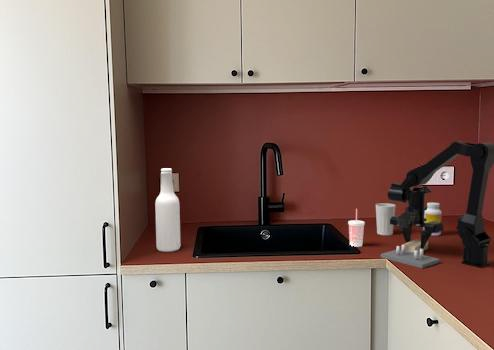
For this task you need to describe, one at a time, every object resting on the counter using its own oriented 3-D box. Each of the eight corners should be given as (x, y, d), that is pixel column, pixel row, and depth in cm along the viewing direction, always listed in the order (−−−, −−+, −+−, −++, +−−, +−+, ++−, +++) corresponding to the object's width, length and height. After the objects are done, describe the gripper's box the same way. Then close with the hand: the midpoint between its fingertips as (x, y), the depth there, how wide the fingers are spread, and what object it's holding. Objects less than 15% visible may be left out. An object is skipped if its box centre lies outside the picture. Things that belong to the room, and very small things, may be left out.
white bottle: (154, 252, 177) (151, 170, 174) (159, 245, 186) (156, 167, 182) (178, 252, 177) (176, 169, 174) (182, 245, 186) (180, 167, 182)
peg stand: (439, 262, 162) (439, 250, 161) (421, 268, 156) (422, 255, 155) (398, 252, 174) (398, 240, 174) (380, 257, 168) (381, 245, 168)
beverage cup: (367, 245, 184) (368, 209, 182) (355, 248, 180) (356, 210, 179) (356, 242, 189) (356, 206, 187) (344, 244, 186) (344, 208, 184)
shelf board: (428, 249, 179) (428, 241, 179) (414, 255, 171) (415, 247, 171) (414, 247, 183) (415, 239, 182) (401, 253, 175) (401, 244, 174)
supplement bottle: (442, 236, 197) (443, 205, 196) (425, 235, 198) (426, 204, 197) (439, 232, 204) (440, 202, 202) (422, 231, 205) (423, 201, 203)
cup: (371, 232, 205) (371, 204, 204) (386, 230, 208) (387, 202, 207) (382, 236, 198) (383, 207, 196) (398, 234, 201) (399, 205, 199)
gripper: (380, 203, 177) (379, 245, 179) (426, 210, 163) (425, 256, 165) (399, 200, 184) (398, 240, 186) (445, 207, 169) (443, 250, 171)
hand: (415, 246), depth 177 cm, fingers open, 6 cm apart
